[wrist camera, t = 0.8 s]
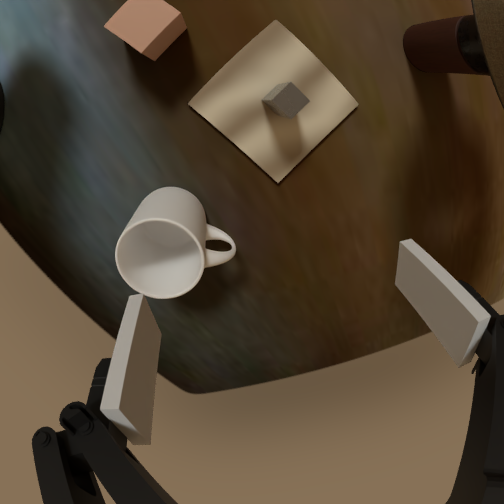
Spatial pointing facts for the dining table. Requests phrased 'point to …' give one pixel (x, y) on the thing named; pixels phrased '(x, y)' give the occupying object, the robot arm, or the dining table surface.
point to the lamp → (462, 44)
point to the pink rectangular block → (147, 26)
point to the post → (286, 100)
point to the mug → (168, 244)
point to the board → (259, 114)
